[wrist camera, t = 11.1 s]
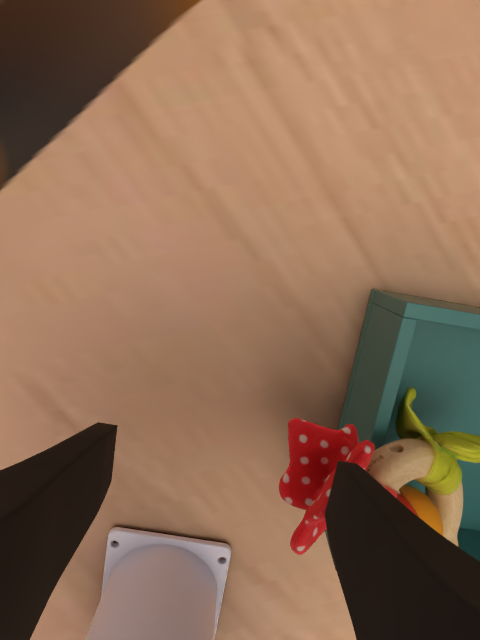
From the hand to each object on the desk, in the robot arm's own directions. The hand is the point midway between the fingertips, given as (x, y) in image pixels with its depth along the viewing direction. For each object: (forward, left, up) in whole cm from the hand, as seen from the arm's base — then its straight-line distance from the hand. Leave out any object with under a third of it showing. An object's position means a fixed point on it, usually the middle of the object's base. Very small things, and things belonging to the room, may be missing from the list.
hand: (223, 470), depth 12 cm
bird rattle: (-3, -12, -6) cm, 14 cm away
